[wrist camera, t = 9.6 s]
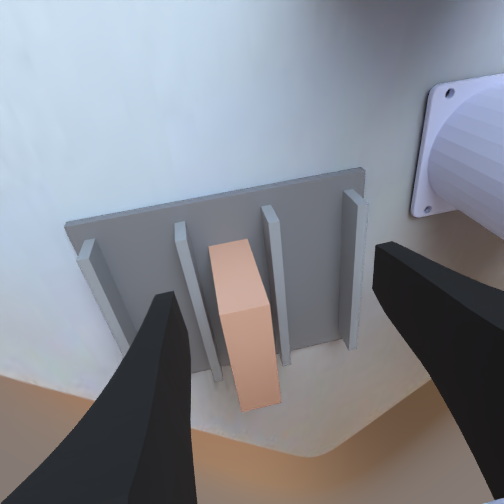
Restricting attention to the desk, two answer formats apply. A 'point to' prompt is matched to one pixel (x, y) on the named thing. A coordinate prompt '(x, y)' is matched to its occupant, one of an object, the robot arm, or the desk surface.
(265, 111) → the desk surface
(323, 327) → the rack
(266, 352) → the tile
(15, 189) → the desk surface
